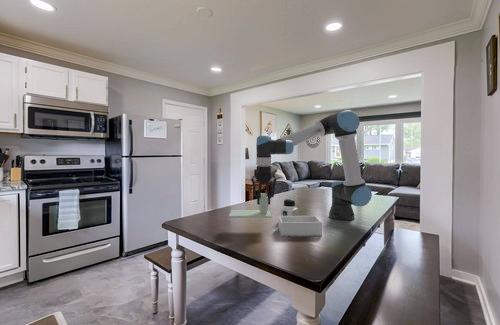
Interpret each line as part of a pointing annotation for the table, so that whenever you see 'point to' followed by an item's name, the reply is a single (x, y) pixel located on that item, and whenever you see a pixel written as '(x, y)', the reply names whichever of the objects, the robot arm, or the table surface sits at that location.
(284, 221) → the tub
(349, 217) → the robot arm
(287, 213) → the container
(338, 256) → the table surface
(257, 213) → the green base with post
